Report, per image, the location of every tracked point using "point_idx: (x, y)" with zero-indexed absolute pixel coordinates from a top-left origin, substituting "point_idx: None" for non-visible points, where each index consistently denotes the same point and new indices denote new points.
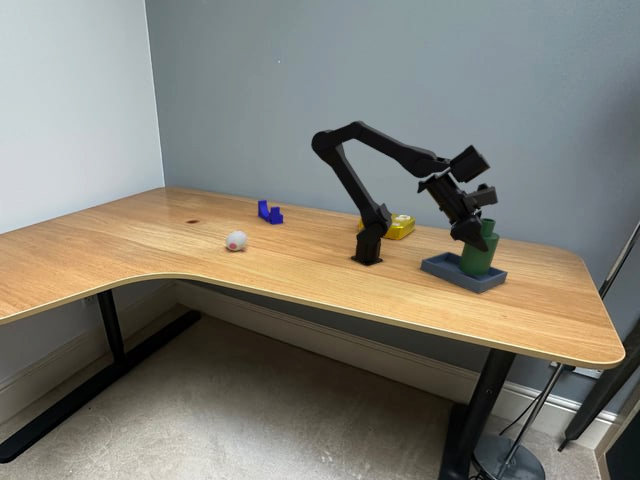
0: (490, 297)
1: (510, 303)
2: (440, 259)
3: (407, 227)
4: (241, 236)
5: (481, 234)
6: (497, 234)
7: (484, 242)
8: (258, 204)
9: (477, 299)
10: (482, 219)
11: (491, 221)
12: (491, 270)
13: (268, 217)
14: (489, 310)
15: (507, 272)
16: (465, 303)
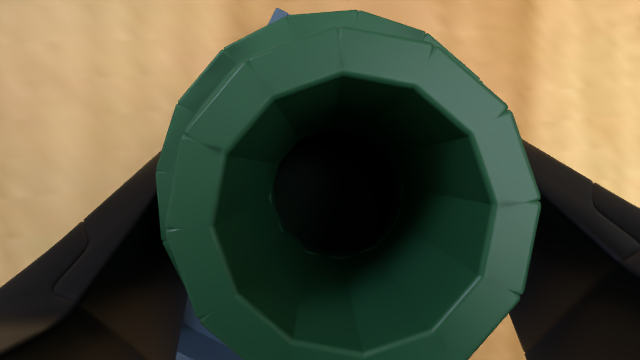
0: (491, 82)
1: (509, 3)
2: (209, 347)
3: None
4: None
5: (620, 226)
6: (251, 37)
7: (550, 161)
8: None
9: (542, 130)
10: (288, 331)
11: (263, 129)
12: None
13: None
14: (624, 79)
15: (280, 10)
16: (609, 172)
